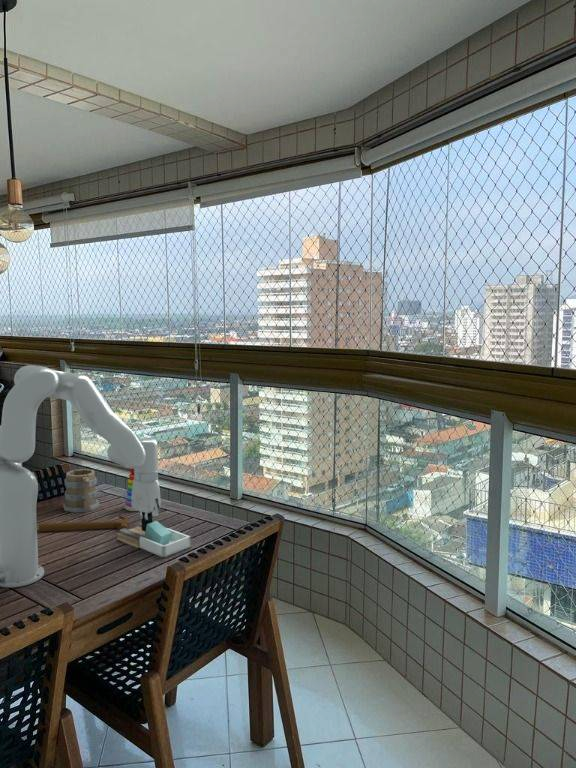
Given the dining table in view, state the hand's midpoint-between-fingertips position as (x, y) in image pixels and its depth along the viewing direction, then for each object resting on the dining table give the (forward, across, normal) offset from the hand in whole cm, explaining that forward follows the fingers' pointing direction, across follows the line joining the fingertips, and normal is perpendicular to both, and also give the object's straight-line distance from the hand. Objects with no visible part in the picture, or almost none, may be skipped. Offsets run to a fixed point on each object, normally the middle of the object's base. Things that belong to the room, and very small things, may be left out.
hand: (147, 529), depth 183 cm
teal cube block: (+1, +3, 0) cm, 3 cm away
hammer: (+4, -25, -7) cm, 27 cm away
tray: (+4, +10, 0) cm, 10 cm away
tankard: (+4, -44, +3) cm, 44 cm away
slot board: (+4, -2, 0) cm, 4 cm away
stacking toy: (+4, -29, +17) cm, 34 cm away
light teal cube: (+2, +7, 0) cm, 7 cm away
